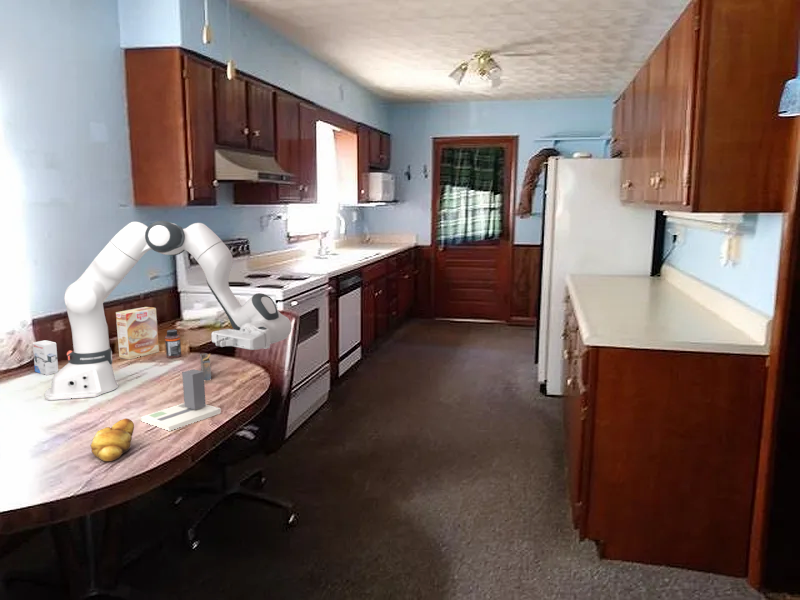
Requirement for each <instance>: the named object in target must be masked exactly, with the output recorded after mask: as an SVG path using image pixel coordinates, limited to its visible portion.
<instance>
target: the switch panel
mask: <svg viewBox="0 0 800 600" xmlns="http://www.w3.org/2000/svg"><path fill="white" fill-rule="evenodd" d="M220 414H222V410H221V408H220V407H217V406H213V405H210V404H206V406H204V407H202V408H199V409H196V410H194V409H191V408H187V407H185V405H184V402H182V403H179V404H177V405H173V406H171V407H168V408H167V407H166V408H164V409H161V410H158V411H157V410H156V411H154V412H151V413H149V414H145V415H143V416H140V422H141V421H142V422H141V423H143V422H145V423H144V424H146V423H148V424H147V425H149V424H150V425H149V426H152V425H154V426H153V427H155V426H157V427H159V428H158V429H160V428H162V429H161V430H163V429H165V430H164V431H166V430H168V431H167V432H169V431H170V432H172V431H171V430H173V431H175V430H174V429H176V430H178V429H180V428H179V427H181V428H183V427H182V426H184V427H186V426H185V425H187V426H189V425H188V424H190V425H192V424H195V423H198V422H200V420H201V421H203V420H206V419H209V418H212V417H215V416H217V415H220ZM197 421H198V422H197ZM194 422H195V423H194ZM191 423H192V424H191ZM157 427H156V428H157ZM177 428H178V429H177Z"/></svg>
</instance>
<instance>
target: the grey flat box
mask: <svg viewBox="0 0 800 600" xmlns="http://www.w3.org/2000/svg"><path fill="white" fill-rule="evenodd" d="M199 355H200V371H203V372H204V380H206V381H211V380H212V372H211V360H210V357H211V356H212V355H211V353H209V354H208V353H200V354H199ZM210 379H211V380H210Z"/></svg>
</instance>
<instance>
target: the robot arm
mask: <svg viewBox="0 0 800 600" xmlns="http://www.w3.org/2000/svg"><path fill="white" fill-rule="evenodd" d="M148 251H154V252H156V253H159V254H162V255H165V256H179V255H181V254H182V253H184V252H185V251H187V252H188V253H189V254H190V255H191V256H192V258H194V260H195V261H196V262H197V263H198V264H199V266H200V267H201V269H202V271H203V273H204V276H205V279H206V283H207V286H208V288H209V290H210V291H211V293H212V295H213V296H214V297H215V299H216V301H217V302H218V304H219V306H221V307H220V308H222V310H223V311H224V313H225V314H226V316H227V318H228V320H229V323H230V325H231V327H232V328H225V329H219V330H214V331H212V332H211V337H210V338H211V342H212V343H213V344H215V346H216V347H221V348H223V347H234V348H240V349H243V350H244V349H245V350H251V351H255V350H262V349H264V350H267V349H270V348H271V345H272V344H276V343H278V342H281V341H284V340H285V339H287V338H288V337H289V336H290V335H291V332H292V322H291V320H290V318H288V317H287V316H286V315H284V314H282V313H281V312H280V311H279V310H278V308H277V306H276V303H275V302H274V299H272V298H271V296H269V295H267V294H265V293H262V292H261V293H254V294H253V295H252V296H251V297H250V298H249V299H248V300H247V301H246V302H245V303H244V304H243V305H241V304H240V302H239V300H238V299H237V297H236V296H235V294H234V293H233V291H232V289H231V287H230V284H229V278H230V274H231V271H232V267H233V263H234V262H233V261H234V260H233V259H234V258H233V254H232V252H231V250H230V249H229V248H228V246H227V244H225V242H224V241H223V240H222V239H221V238H220V237H219V236H218V235H217V234H216V233H215V232H214V231H213V230H212V229H211V228H210V227H208V226H207V225H206V224H205V223H202V222H195V223H192V224H190V225H188V226H187V227H185V228H183V227H182V226H180V225H178V224H176V223H172V222H169V221H167V220H158V221H154V222H152V223H150V224H149V225H146V224H144V223H142V222H139V221H131V222H129V223H127V224H126V225H125V226H124V227H123V228H121V229H120V230H119V231H118V232H117V233H116V234H115V235H114V236H113V237H112V238H111V239H110V240H109V241H108V243H107V244H106V245H104V247H103V249H101V251H100V252H99V253H98V254H97V255H96V256H95V257H94V258H93V261H91V263H90V264H89V265H88V266H87V268H86V269H85V271H84V272H83V273H81V275H80V276H79V277H78V278H77V279H76V280H75V281H74V282H72V283H70V284H69V285H68V286H67V288H66V289H65V292H64V304H65V308H66V312H67V316H68V321H69V325H70V329H71V336H72V344H73V345H72V347H73V350H68V351H67V352H66V356H67V362H68V363H66V365H64V366H63V367H61V369H58V372H57V373H54V375H53V377H52V380H51V387H49V388H47V389H46V391H44V398H45V399H46V400H47V401H56V400H57V401H59V400H68V399H69V400H71V398H72V399H81V398H82V399H84V398H94V397H99V396H101V395H102V394H106V393H108V392H112V391H114V390H116V389H118V387H119V383H118V382H117V380H116V377H115V374H114V372H115V371H114V369H113V351H112V348H111V347H110V338H109V325H108V323H107V320H106V316H105V310H104V302H105V301H106V299H108V297H109V296H110V295H111V294H112V292H113V291H114V290H115V289H116V288H117V287H118V286H119V284H120V283H121V282H122V280H123V279H124V278H126V276H127V275H128V274H129V273H130V271H132V269H133V268H134V266H136V264H137V263H138V262H139V261H140V259H142V257H143V256H144V255H145V254H146V253H147V252H148Z"/></svg>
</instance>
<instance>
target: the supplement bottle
mask: <svg viewBox="0 0 800 600" xmlns="http://www.w3.org/2000/svg"><path fill="white" fill-rule="evenodd" d="M164 341H165V342H164V343H165V355H166V358H168V359H177V358H180V357H181V356H182V346H181V344H182V343H181V336H180V335H179V334H178V330H177V329H167V331H166V335H165V336H164Z"/></svg>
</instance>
